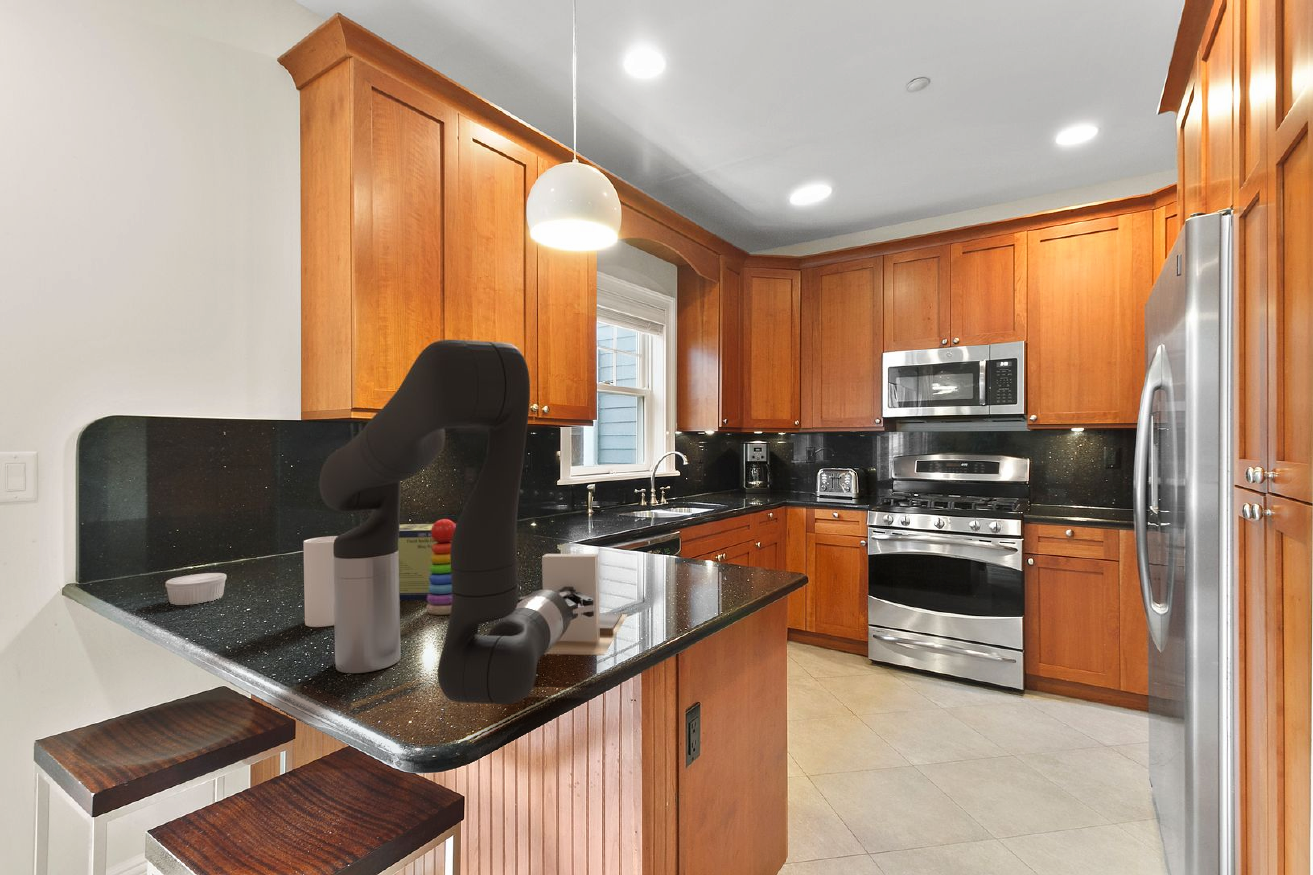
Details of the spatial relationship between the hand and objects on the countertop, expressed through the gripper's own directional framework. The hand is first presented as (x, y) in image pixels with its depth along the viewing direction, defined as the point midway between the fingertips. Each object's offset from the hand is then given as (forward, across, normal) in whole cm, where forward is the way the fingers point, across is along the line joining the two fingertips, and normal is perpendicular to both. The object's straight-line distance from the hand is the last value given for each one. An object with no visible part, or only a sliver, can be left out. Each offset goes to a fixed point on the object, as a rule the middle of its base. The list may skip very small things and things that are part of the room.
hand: (568, 592), depth 101 cm
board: (+5, 0, +9) cm, 10 cm away
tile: (+2, 0, +8) cm, 8 cm away
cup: (+13, +52, +9) cm, 54 cm away
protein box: (+34, +45, +9) cm, 57 cm away
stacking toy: (+21, +31, +9) cm, 39 cm away
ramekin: (+26, +94, +9) cm, 98 cm away
